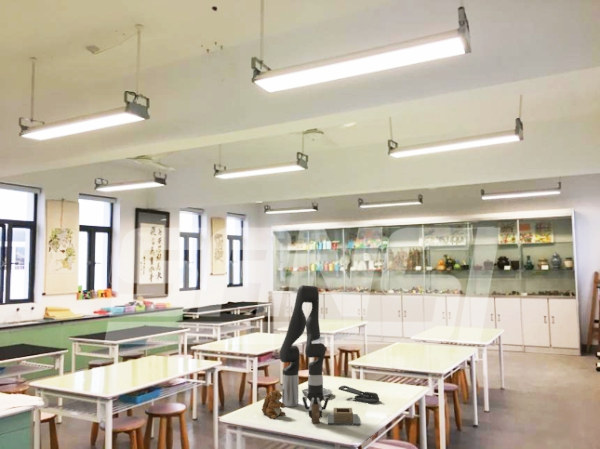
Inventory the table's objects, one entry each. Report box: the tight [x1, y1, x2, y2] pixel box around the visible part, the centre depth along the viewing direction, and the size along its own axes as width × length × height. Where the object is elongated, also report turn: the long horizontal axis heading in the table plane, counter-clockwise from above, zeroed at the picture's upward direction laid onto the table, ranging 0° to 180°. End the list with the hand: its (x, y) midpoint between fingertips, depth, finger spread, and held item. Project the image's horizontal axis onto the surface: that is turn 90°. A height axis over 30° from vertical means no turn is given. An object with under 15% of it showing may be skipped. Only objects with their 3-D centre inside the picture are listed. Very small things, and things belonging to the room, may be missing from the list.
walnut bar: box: [311, 404, 321, 424], centre depth 242 cm, size 4×4×9 cm
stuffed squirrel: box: [261, 389, 286, 419], centre depth 255 cm, size 10×14×13 cm
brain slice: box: [301, 387, 333, 400], centre depth 296 cm, size 20×17×3 cm
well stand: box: [326, 407, 361, 426], centre depth 245 cm, size 16×16×5 cm
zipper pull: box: [338, 385, 380, 405], centre depth 285 cm, size 9×7×25 cm
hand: (315, 417), depth 242 cm, fingers closed on walnut bar, 4 cm apart
